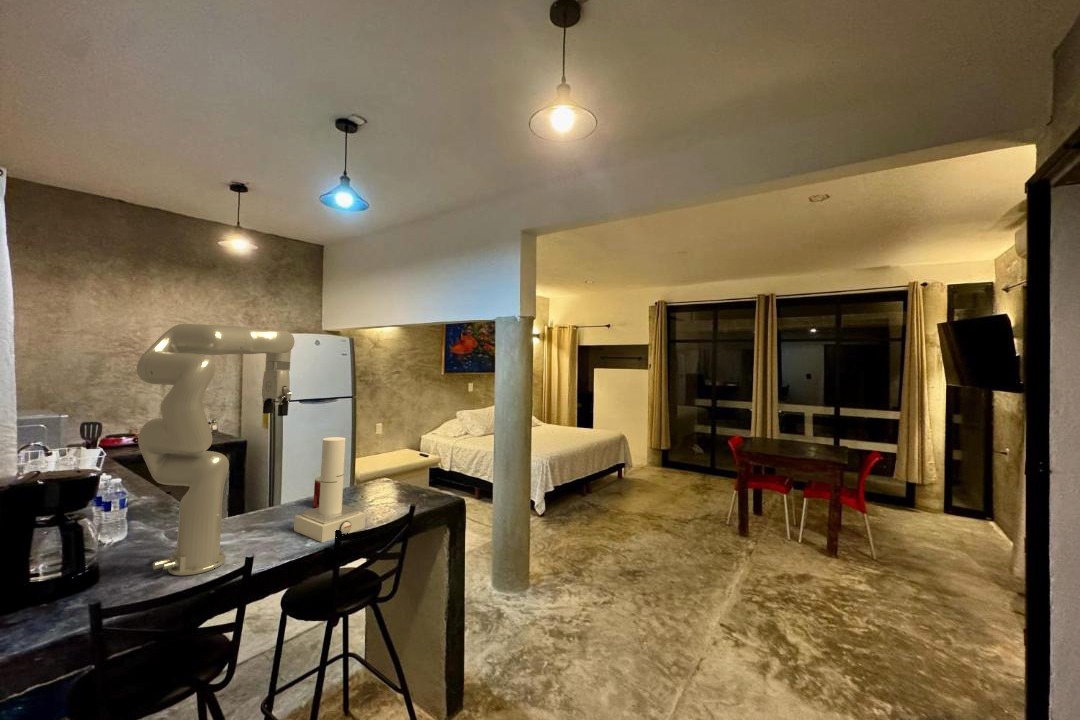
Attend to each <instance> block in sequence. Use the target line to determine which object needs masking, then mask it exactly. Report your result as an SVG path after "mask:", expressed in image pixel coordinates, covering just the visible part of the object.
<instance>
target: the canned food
mask: <svg viewBox="0 0 1080 720" xmlns="http://www.w3.org/2000/svg"><path fill="white" fill-rule="evenodd" d="M320 483H321V476H319V477H316V478H315V479H314V484H313V485H314V488H313V507H314V508H315V507H316V508H318V507H319V501H320Z"/></svg>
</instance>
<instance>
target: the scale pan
mask: <svg viewBox="0 0 1080 720" xmlns="http://www.w3.org/2000/svg"><path fill="white" fill-rule="evenodd" d="M359 512H360V509H358V508H355V507H352V506H348V505H345V504H343V503H342V511H341V512H339V513H336V514H329V515H325V514H320V513H319V507H318V508H315V507H314V508H312V509H308V510H305V511H301V514H302V516H305V517H307V518H310V519H313V520H315V521H318V522H321V523H323V524H326V523H329V522H333V521H336V520H339V519H343V518H346V517H349V516H352V515H356V514H359Z"/></svg>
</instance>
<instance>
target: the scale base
mask: <svg viewBox="0 0 1080 720" xmlns="http://www.w3.org/2000/svg"><path fill="white" fill-rule="evenodd" d="M366 515H367V514H366V512H365V513H364V512H362V511H359V514H356V515H352V516H349V517H346V518H343V519H339V520H336V521H333V522H329V523H326V524H323V523H321V522H318V521H315V520H313V519H310V518H307V517H305V516H302V513H301V514H298V515H295V516H294V523H293V525H294V526H293V531H294V532H296V533H299V534H301V535H303V536H305V537H308V538H310V539H313V540H315V541H317V542H320V543H324V542H329V541H330V540H333V539H335V531H336V530H340V531H341V532H342V533H343V534H345V535H347V533H348V534H351V533H354V532H357V531H360V530H362V529H365V528H366Z"/></svg>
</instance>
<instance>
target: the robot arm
mask: <svg viewBox="0 0 1080 720" xmlns="http://www.w3.org/2000/svg"><path fill="white" fill-rule="evenodd" d="M294 346H295V337H294V335H293V334H292V333H291V332H290V331H288V330H278V329H277V330H275V329H265V328H264V329H261V328H257V327H256V328H255V327H247V326H236V325H235V326H234V325H232V326H231V325H218V324H196V323H195V324H194V323H193V324H192V323H178V324H176V325H174V326H172V327H170V328H169V329H168V330H166V331H165V332H164V333H163V334H162V335H160V337H159V338H158V339H156V340H155V342H154V343H153V344H152V345H151V346H149V348H148V349H147V350H146V351H144V353H143V354H142V355H141V357H140V358H139V360H138V361H137V364H136V373H137V376H138V378H139V379H141V381H143V382H145V383H148V384H152V385H165V386H166V385H169V386H172V387H171V389H170V390H169V391H168V393H167V394H166V395H165V396H164V398H163V399H162V401H161V404H160V414H161V417H156V418H153V419H150V420H148V421H147V422H145V423H144V425H143V426H142V427H141V429H140V430H139V432H138V437H137V444H138V448H139V450H140V453H141V455H142V458H143V460H144V462H145V464H146V466H147V469H148V471H149V473H150V475H151V477H152V479H153V480H154V481H155V482H156V483H158V484H160V485H166V486H182V487H183V486H184V487H189V489H188V491H186V493H185V494H184V495H183V496H182V498H181V500H180V502H179V507H178V523H177V525H178V526H177V540H176V551H172V552H171V555H170V556H168V557H167V558H165V559H159V560H157V561H154V562H152V569H153V570H154V571H155V570H158V569H161V568H162V569H163V570H167V572H168V573H169V574H170V575H172V576H191V575H197V574H202V573H205V572H209V571H212V570H215V569H217V568H219V567H220V566H222V565H223V564H224V563H225V562H226V561H227V560H226V559H227V555H226V554H225V553H224V552H220V549H221V547H220V546H221V535H222V534H221V532H222V531H221V530H222V513H223V498H224V488H225V483H226V481H227V480H226V479H227V476H228V473H229V468H230V461H229V459H228V457H227V456H226V455H224V454H223V453H222V452H221V453H220V452H218V451H213V450H212V451H211V450H208V449H209V448H210V447H211V445H212V443H213V434H212V430H211V427H210V425H209V422H208V418H207V415H206V412H205V408H204V405H203V399H204V395H205V393H206V390H208V389H207V388H208V387H209V384H210V383H211V381H212V380H213V378H214V375H215V371H216V365H215V362H214V360H213V359H212V358H211V357H209V356H223V355H257V354H265V370H264V373H263V374H264V375H263V379H262V388H261V396H262V402H263V403H262V404H263V406H262V414H273V413H274V400H276V399H277V400H278V403H279V404H277V407H278V408H277V417H285V416H288V415H289V405H290V401H291V397H292V391H291V387H290V384H291V383H290V382H291V381H290V369H291V357H292V355H291V354H292V350H293V349H294ZM214 568H215V569H214Z"/></svg>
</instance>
